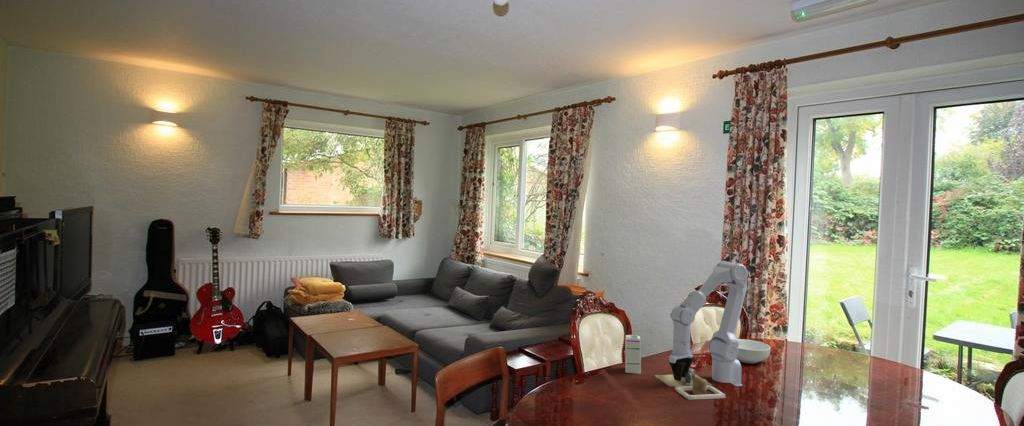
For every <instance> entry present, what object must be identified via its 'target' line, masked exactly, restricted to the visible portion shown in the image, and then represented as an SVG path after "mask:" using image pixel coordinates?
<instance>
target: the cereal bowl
mask: <svg viewBox="0 0 1024 426" xmlns="http://www.w3.org/2000/svg"><path fill="white" fill-rule="evenodd" d="M737 340H738V341H739V345H738V350H739V354H738V357H737V358H736V359H737V360H738V361H739V362H740V363H745V364H757V363H760V362H764V361H765V360H767V359H768V358H769V357H770V355H771V346H770V345H769V344H767V343H764V342H762V341H758V340H752V339H744V338H743V339H741V338H739V339H738V338H737Z"/></svg>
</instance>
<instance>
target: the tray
mask: <svg viewBox="0 0 1024 426" xmlns="http://www.w3.org/2000/svg"><path fill="white" fill-rule="evenodd" d="M674 390H675V392H677V393H679V394H680V395H682V396H683V397H684V398H685V399H687V400H692V401H693V400H710V399H711V400H712V399H726V397H727V396H726V394H725V393H724V392H722V391H720V390H719V389H717V388H716V387H714V386H713V385H707V390H709V391H711V392H712V393H710V394H709V393H708V394H706V395H694V394H689V393H687V392H686V391H693V386H676V387H674Z"/></svg>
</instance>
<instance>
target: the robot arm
mask: <svg viewBox="0 0 1024 426" xmlns="http://www.w3.org/2000/svg"><path fill="white" fill-rule="evenodd" d="M748 276H749V271H748V269H747V268H746V266H745V265H744V264H742V263H736V262H730V261H729V262H728V261H725V260H721V261H719V262H718V263H717V264H716V266H714V267H713V269H712V273H711V274H710V275H709V277H708V278H707V279H706V280H705V282H703V284H702V285H701V286H700V288H699V289H698V290H693V291H689V293H688V296H687V297H686V298H685V299H684V300H683V301H682V302H681V303H680V304H679V305H677V306H675V307H674V308H672V310H671V312H670V314H669V315H670V318H671V320H672V325H673V328H672V329H673V330H672V331H673V332H672V334H673V335H672V352H671V354H670V355H669V356H668V364H669V365H670V367H671V371H672V375H673V376H674V380H677V381H681V378H682V377H683V378H685V373H686V372H688V371H689V368H691V365H692V363H693V362H694V355H693V352H694V351H693V349H691V327H692V326H691V324H692V323H694V322H695V318H696V315H697V312H698V311H700V309H701V308H702V307H704V305H705V304H706V303H707V297H708V296H709V295H710V294H711V293H712V292H714V290H716V288H718V287H719V286H720V285H721V284H723V283H725V284H726V286H727V287H728V289H729V291H728V295H727V298H726V302H725V306H724V309H723V313H722V318H721V321H720V325H719V329H718V330H717V331H715V332H714V333H713V334H712V337H711V339H709V341H708V343H707V344H708V345H707V349H708V352H709V353H710V355H711V356H710V357H712V358H711V359H712V360H711V379H712V380H713V381H715V382H718V383H724V384H725V383H726V384H729V383H730V384H732V385H733V386H736V387H743V384H742V364H741V361H739V360H738V359H736V358H737V357H738V354H739V350H738V345H739V341H738V340H737V339H738V338H737V337H736V332H737V329H738V324H739V321H740V317H741V313H742V309H743V304H744V302H745V301H744V300H745V297H746V294H747V290H748V282H747V280H748V278H749V277H748Z"/></svg>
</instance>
